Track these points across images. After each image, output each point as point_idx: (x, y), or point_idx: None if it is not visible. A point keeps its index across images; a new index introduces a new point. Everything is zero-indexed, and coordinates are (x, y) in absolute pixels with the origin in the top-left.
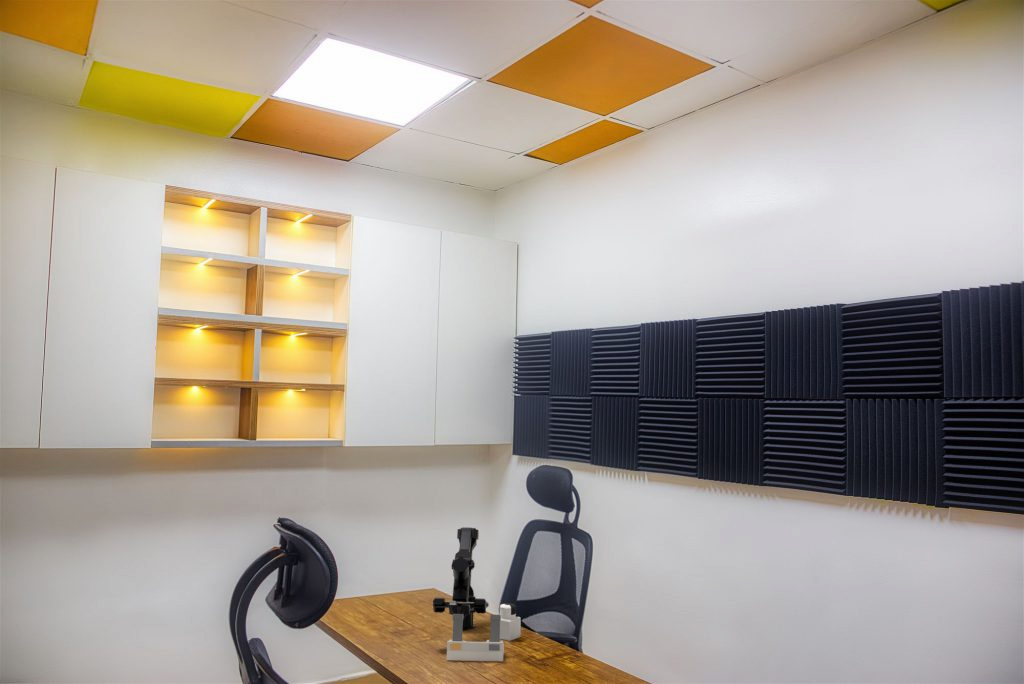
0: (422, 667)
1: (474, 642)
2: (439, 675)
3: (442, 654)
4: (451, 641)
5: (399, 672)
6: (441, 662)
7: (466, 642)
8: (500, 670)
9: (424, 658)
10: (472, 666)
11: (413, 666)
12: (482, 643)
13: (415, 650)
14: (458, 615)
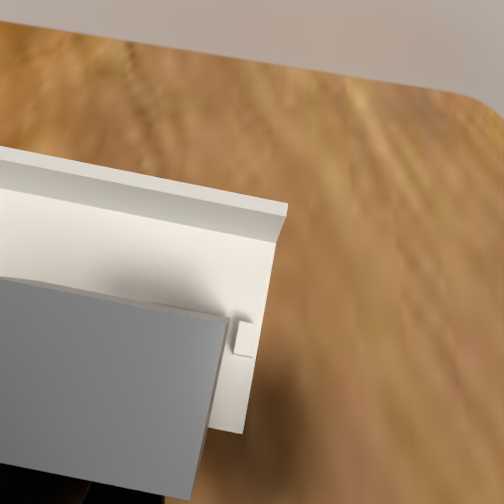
0: (396, 169)
1: (66, 160)
2: (314, 70)
3: (290, 368)
4: (250, 207)
5: (491, 127)
6: (301, 223)
7: (131, 173)
8: (24, 76)
9: (399, 304)
10: (145, 143)
11: (442, 189)
12: (5, 151)
13: (481, 492)
14: (92, 294)
